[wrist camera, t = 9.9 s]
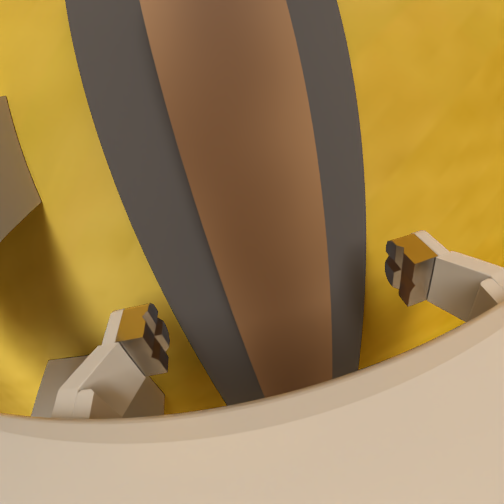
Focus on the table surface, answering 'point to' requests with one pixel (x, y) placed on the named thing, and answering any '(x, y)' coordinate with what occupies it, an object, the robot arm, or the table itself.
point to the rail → (252, 174)
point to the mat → (179, 192)
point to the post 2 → (60, 370)
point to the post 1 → (13, 176)
